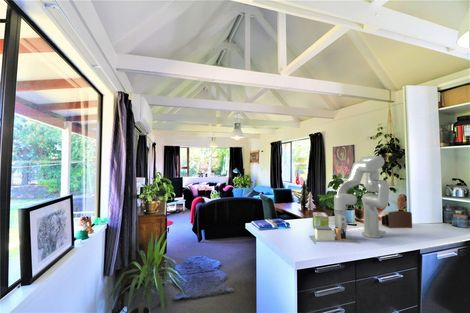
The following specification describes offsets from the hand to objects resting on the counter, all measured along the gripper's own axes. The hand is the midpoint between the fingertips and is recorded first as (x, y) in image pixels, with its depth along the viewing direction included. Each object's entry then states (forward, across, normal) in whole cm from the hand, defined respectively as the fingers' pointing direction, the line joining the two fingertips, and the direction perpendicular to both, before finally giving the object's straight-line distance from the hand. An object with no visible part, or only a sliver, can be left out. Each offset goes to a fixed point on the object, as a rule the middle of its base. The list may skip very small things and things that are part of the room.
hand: (340, 236), depth 161 cm
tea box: (+3, +19, +8) cm, 21 cm away
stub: (+2, 0, 0) cm, 2 cm away
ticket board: (+3, 0, +5) cm, 6 cm away
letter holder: (+3, +40, -63) cm, 75 cm away
